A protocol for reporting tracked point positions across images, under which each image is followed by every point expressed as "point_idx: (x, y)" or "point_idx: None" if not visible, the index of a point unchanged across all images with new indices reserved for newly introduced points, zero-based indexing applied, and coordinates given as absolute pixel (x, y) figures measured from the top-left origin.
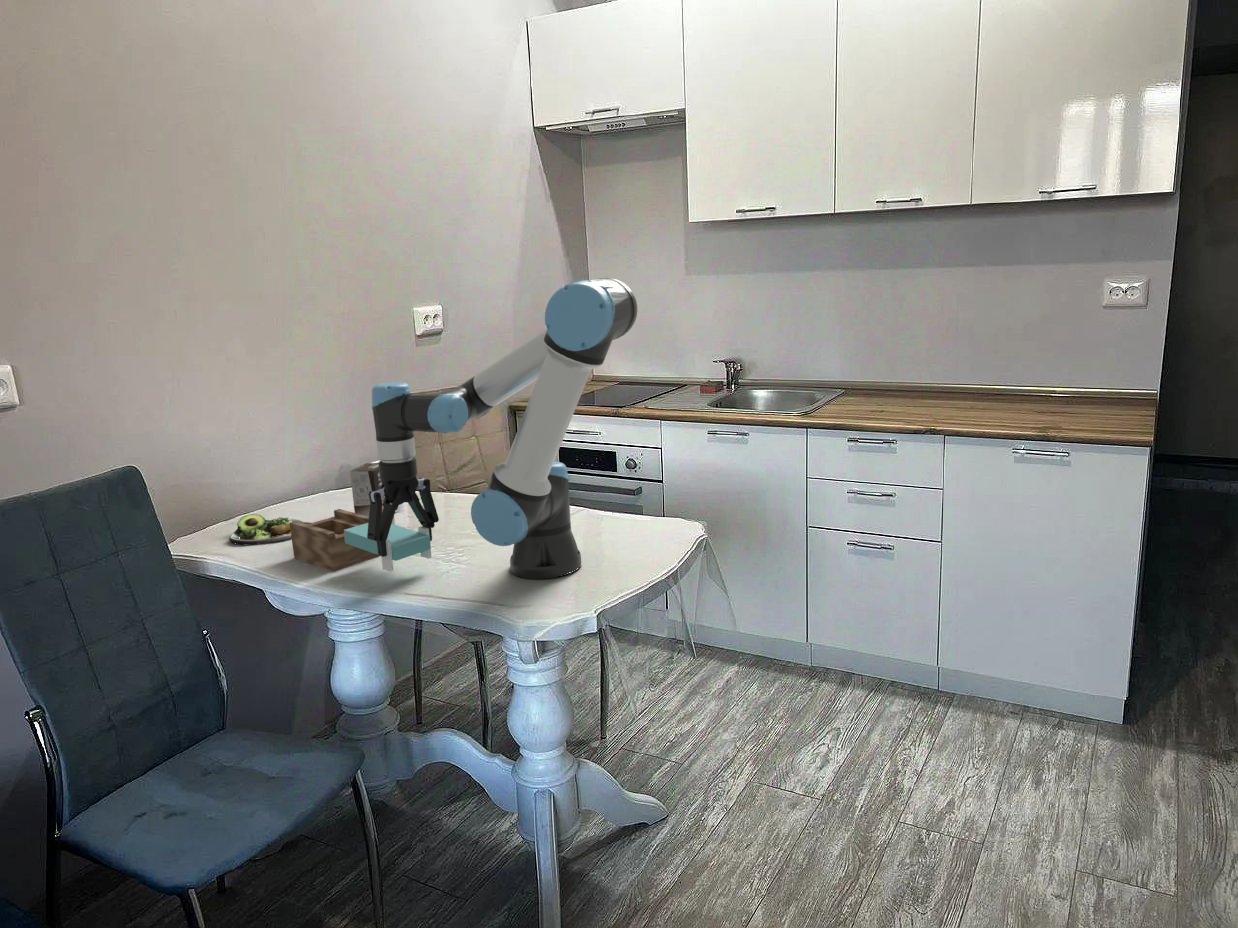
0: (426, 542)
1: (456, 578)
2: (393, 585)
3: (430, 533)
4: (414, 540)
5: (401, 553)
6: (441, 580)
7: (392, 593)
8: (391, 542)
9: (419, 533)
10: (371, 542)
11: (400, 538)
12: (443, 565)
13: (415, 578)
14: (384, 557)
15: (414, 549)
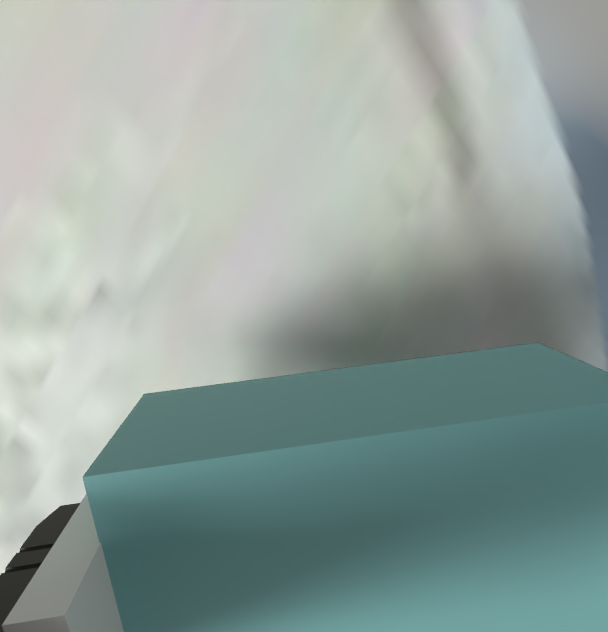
0: (171, 427)
1: (116, 147)
2: (430, 344)
3: (18, 576)
4: (350, 440)
5: (500, 367)
6: (206, 196)
7: (506, 239)
8: (575, 553)
9: (154, 627)
10: None
11: (423, 608)
12: (64, 417)
13: (294, 350)
14: None
15: (340, 387)
